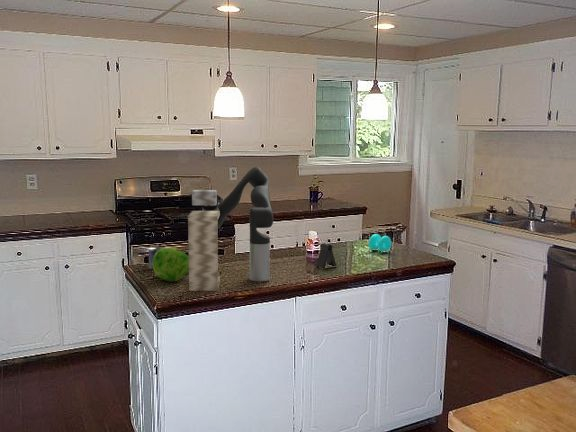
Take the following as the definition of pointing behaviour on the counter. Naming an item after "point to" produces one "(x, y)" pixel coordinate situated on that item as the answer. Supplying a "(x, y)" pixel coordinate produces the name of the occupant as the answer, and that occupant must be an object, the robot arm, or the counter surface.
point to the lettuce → (170, 264)
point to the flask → (151, 255)
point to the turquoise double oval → (380, 242)
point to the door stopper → (325, 256)
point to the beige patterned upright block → (203, 250)
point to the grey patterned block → (204, 197)
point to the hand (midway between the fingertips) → (207, 193)
